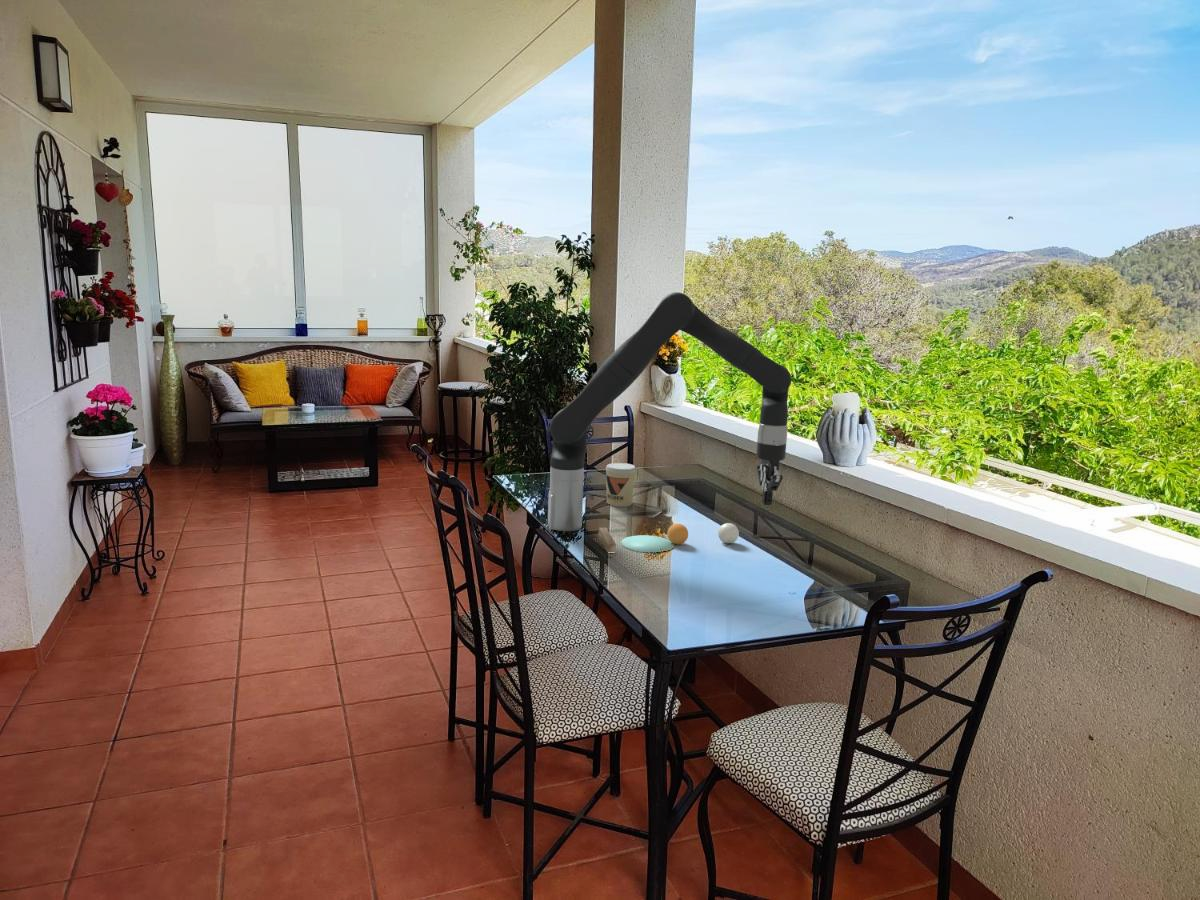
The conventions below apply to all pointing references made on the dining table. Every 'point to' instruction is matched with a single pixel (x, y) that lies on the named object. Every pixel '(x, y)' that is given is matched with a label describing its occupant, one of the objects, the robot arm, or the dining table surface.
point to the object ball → (677, 533)
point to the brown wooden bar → (607, 540)
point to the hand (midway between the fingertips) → (766, 504)
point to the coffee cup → (620, 483)
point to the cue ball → (728, 533)
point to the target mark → (647, 543)
